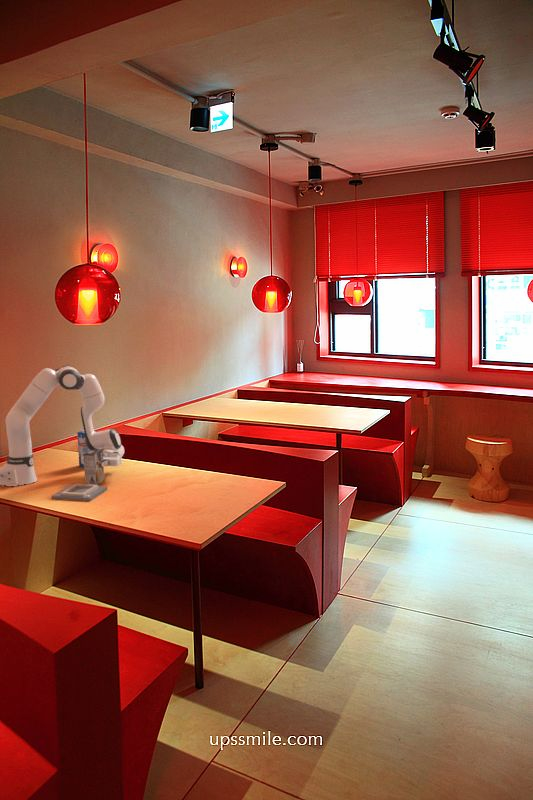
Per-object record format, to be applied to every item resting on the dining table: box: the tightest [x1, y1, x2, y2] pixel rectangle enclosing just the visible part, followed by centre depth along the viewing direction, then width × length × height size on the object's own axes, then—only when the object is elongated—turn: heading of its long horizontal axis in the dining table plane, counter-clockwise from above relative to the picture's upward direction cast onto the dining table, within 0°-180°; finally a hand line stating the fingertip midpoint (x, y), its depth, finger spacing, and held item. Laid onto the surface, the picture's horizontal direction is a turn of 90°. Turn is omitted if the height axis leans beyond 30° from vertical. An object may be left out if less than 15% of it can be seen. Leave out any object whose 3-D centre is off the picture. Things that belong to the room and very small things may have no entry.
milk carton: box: [76, 429, 100, 468], centre depth 349 cm, size 10×6×20 cm, turn 71°
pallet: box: [51, 483, 108, 502], centre depth 299 cm, size 20×18×3 cm
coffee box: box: [83, 449, 105, 485], centre depth 313 cm, size 9×6×16 cm
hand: (94, 464), depth 313 cm, fingers closed on coffee box, 6 cm apart
